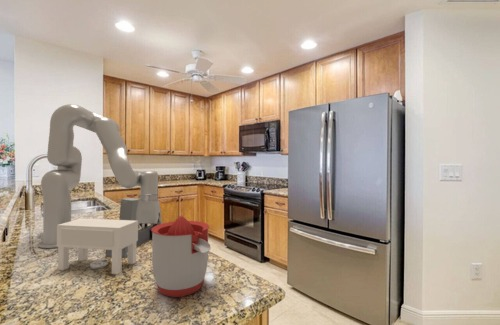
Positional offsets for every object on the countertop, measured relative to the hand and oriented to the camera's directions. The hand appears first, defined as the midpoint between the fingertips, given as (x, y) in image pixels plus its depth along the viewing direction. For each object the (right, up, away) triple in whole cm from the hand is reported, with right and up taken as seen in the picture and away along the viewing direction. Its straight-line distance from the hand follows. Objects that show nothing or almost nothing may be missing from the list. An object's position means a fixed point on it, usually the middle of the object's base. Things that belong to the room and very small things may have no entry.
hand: (148, 237), depth 116 cm
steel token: (-4, -1, -31) cm, 31 cm away
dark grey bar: (-1, 0, -10) cm, 10 cm away
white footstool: (-4, 0, -31) cm, 31 cm away
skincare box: (-17, -1, +17) cm, 24 cm away
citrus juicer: (+28, -1, -46) cm, 54 cm away
